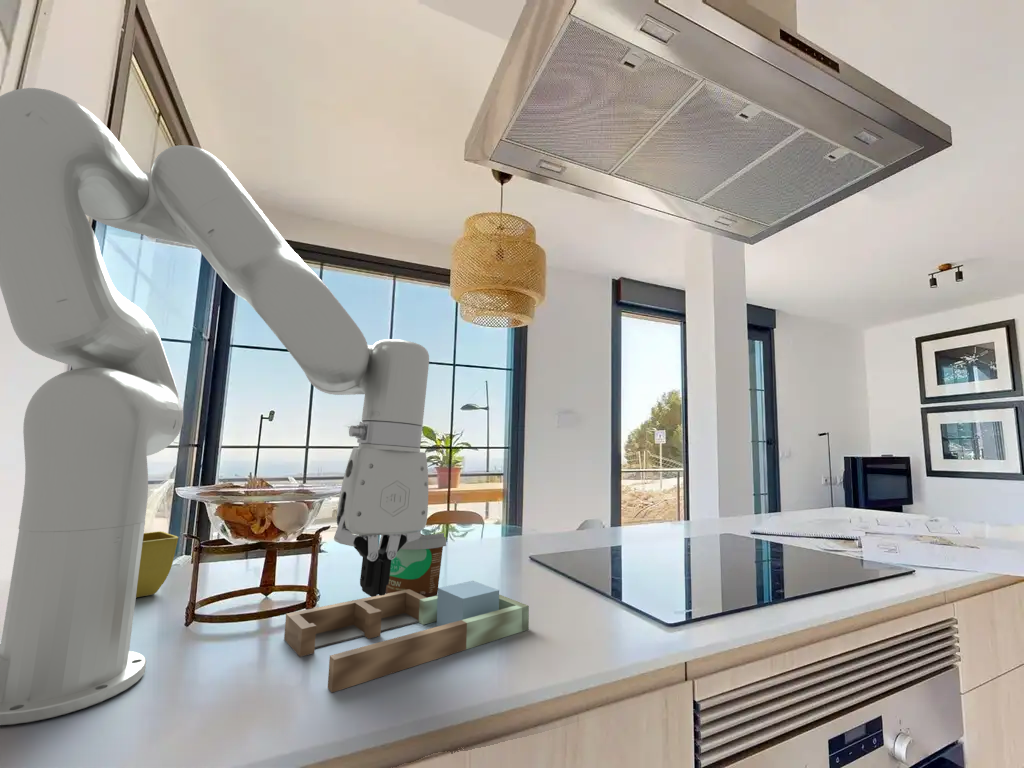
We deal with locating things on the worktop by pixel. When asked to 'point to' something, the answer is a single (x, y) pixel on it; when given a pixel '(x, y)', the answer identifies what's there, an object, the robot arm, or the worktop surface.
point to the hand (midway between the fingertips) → (373, 592)
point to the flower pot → (155, 561)
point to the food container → (418, 566)
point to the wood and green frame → (399, 652)
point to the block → (465, 601)
